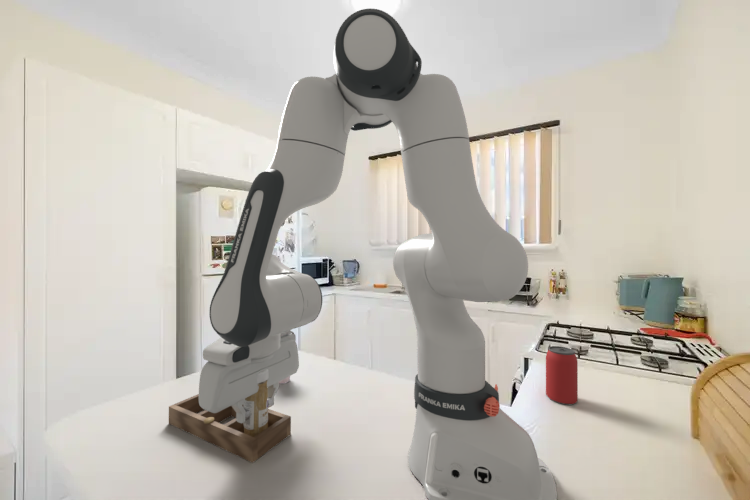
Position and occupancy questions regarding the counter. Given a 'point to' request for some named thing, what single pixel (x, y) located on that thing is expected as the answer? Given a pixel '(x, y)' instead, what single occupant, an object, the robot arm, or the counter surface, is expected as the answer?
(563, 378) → the beer can
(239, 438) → the spice caddy
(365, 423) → the counter surface
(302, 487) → the counter surface
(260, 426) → the sprinkles bottle
